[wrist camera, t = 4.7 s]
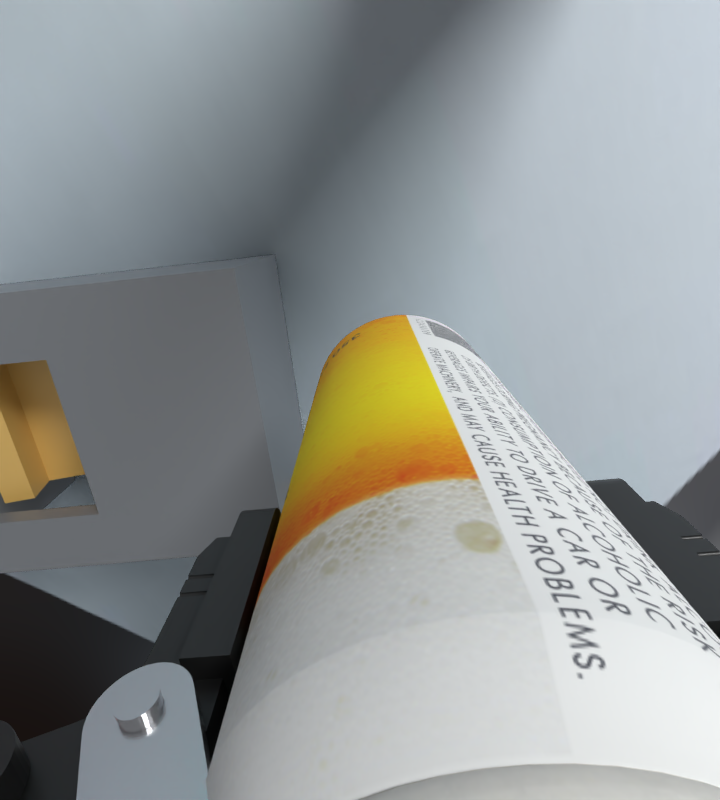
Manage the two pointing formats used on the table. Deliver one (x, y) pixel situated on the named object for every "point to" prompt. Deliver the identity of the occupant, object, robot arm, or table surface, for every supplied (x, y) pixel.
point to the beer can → (458, 609)
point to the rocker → (32, 432)
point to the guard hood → (156, 408)
